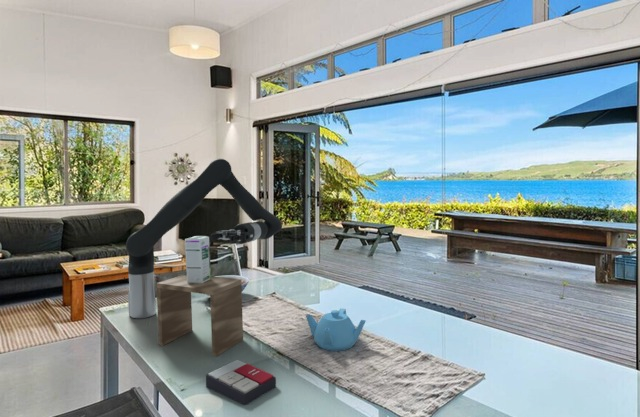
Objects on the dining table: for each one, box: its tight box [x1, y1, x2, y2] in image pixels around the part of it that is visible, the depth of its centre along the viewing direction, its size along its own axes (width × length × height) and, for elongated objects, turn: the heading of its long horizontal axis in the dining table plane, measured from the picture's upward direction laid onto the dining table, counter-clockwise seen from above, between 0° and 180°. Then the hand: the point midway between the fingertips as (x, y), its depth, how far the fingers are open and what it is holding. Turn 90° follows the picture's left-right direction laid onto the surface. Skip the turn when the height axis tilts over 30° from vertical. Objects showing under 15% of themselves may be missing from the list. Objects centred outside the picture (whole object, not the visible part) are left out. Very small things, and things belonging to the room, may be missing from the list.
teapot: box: [305, 308, 367, 352], centre depth 135 cm, size 15×15×11 cm
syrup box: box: [184, 235, 212, 283], centre depth 136 cm, size 6×6×14 cm
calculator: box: [205, 359, 277, 406], centre depth 108 cm, size 11×4×15 cm
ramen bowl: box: [205, 274, 250, 297], centre depth 189 cm, size 25×23×8 cm
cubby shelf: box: [155, 273, 244, 358], centre depth 137 cm, size 23×14×20 cm, turn 66°
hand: (220, 238), depth 148 cm, fingers open, 8 cm apart
